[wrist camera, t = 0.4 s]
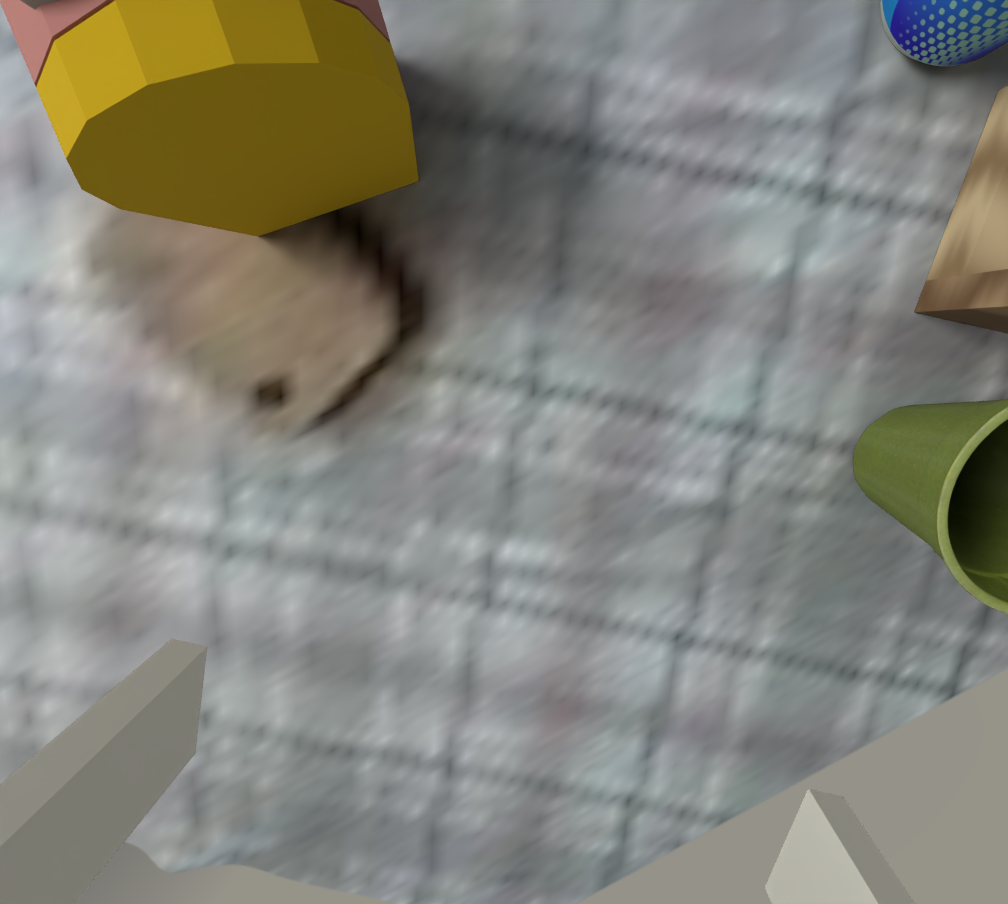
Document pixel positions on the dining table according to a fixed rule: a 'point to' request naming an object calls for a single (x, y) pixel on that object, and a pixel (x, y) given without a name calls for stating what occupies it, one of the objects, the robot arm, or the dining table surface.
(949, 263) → the cleat board
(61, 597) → the dining table surface
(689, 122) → the dining table surface
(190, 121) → the alarm clock
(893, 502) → the plant pot
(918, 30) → the beer can
